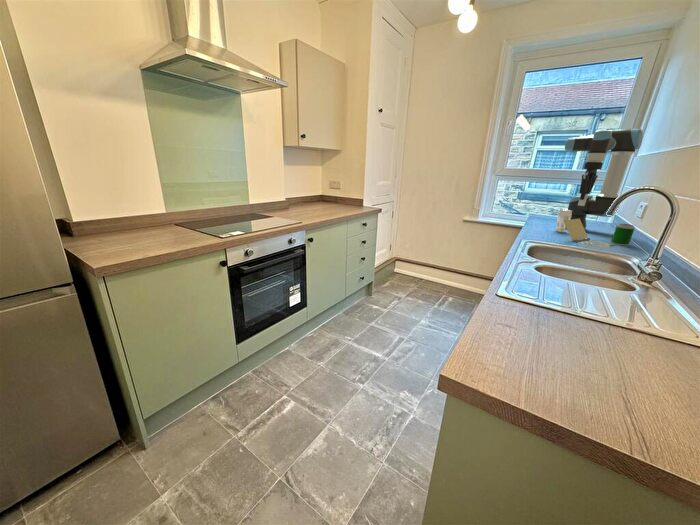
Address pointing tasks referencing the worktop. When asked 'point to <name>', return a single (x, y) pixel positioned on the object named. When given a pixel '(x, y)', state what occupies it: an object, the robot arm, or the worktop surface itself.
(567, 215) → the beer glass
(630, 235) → the soda can
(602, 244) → the base leaf
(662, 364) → the worktop surface
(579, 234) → the swing leaf
